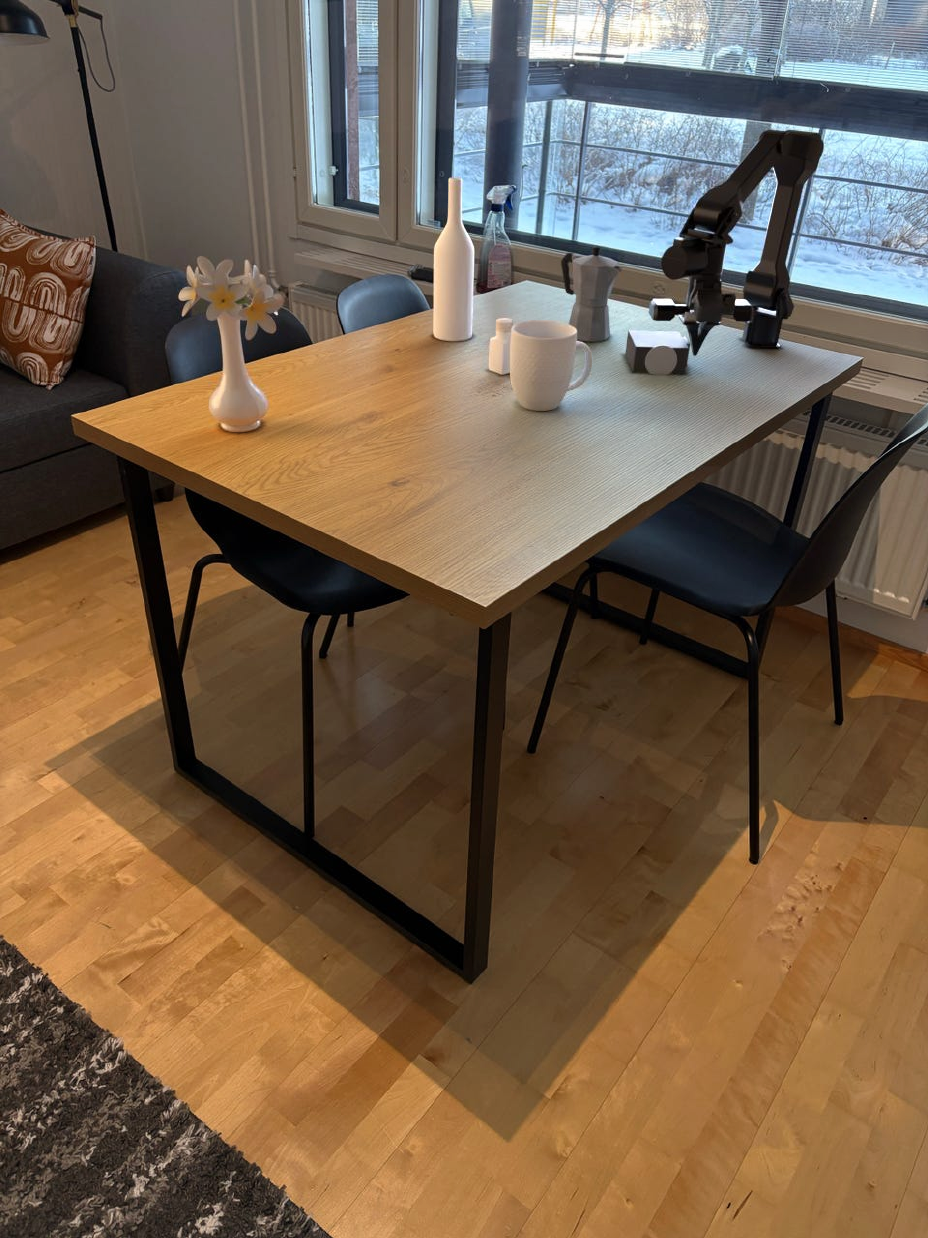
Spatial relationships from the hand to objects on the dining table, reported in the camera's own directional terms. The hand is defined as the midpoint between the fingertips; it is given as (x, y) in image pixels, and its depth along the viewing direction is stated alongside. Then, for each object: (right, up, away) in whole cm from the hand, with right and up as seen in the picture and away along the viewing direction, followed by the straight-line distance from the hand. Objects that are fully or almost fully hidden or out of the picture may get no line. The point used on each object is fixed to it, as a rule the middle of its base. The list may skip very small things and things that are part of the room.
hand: (694, 355), depth 176 cm
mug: (-31, -14, -19) cm, 39 cm away
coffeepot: (-19, +9, +17) cm, 27 cm away
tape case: (-8, -1, +1) cm, 8 cm away
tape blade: (-7, -1, +1) cm, 7 cm away
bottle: (-47, +8, +14) cm, 50 cm away
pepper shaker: (-38, -5, -5) cm, 38 cm away
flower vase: (-80, -20, -31) cm, 88 cm away
